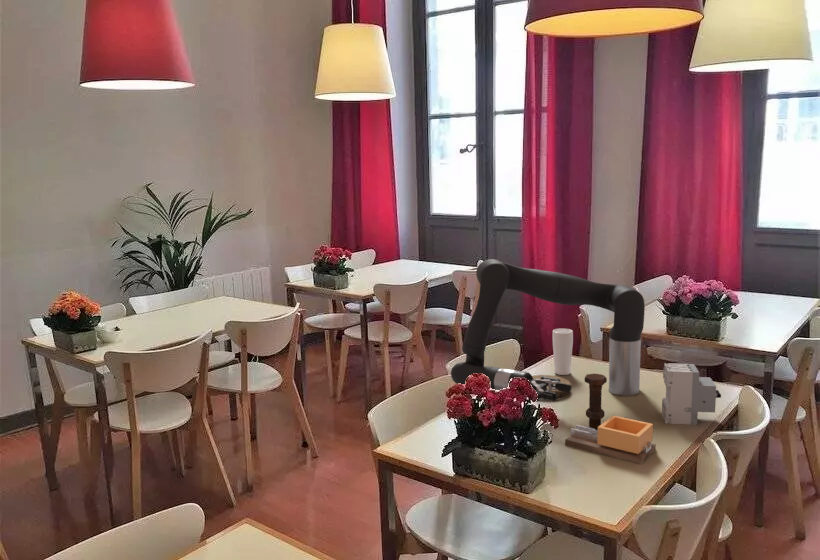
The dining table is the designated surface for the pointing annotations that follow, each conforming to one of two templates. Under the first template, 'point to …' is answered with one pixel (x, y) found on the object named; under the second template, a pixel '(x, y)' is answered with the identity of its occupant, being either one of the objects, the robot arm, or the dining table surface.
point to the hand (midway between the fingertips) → (563, 392)
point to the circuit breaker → (686, 394)
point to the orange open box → (625, 434)
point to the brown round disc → (559, 393)
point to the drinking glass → (562, 350)
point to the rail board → (607, 449)
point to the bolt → (595, 399)
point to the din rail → (596, 435)
